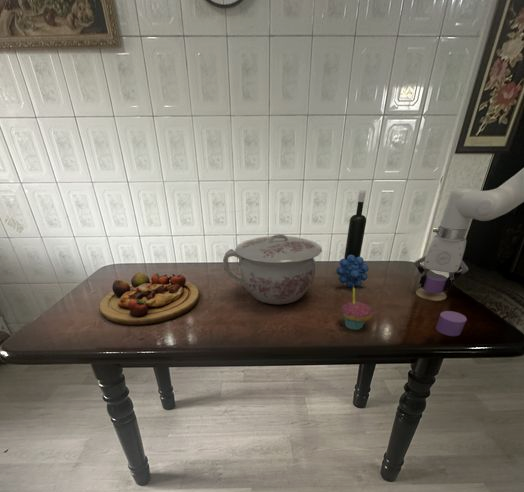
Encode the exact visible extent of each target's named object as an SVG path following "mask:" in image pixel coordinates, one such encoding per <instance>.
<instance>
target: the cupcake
mask: <svg viewBox="0 0 524 492" xmlns="http://www.w3.org/2000/svg"><path fill="white" fill-rule="evenodd" d="M340 314H341V316H342V317H343V319H344V325H345V327H346V328H348V329H350V330H354V331H356V330H361V329H362V328H363V327H364V325H365V323H366V322H368V321H370V320H371V319H372V317H373V309H372V307H371V306H370V305H368V304H367V303H365V302H363V301H359V300H358V301H357V300H356V288H355V285H353V286H352V301H349V302H347V303H345V304H343V305H342V306H341V308H340Z"/></svg>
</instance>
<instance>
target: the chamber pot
mask: <svg viewBox="0 0 524 492" xmlns="http://www.w3.org/2000/svg"><path fill="white" fill-rule="evenodd" d="M322 252H323V249H322V246H321V245H320V244H319V243H317V242H316V241H313V240H311V239H307V238H303V237H297V236H291V235H285V234H282V233H281V234H280V233H277V234H274V235H266V236H258V237H254V238H250V239H247V240H244V241H242V242H240V243H238V244H237V245H236V247H235V248H234V249H233V248H230V249H228V250H227V251H226V252H225V253H224V256H223V258H222V267H223V269H224V271H225V272H226V274H228V276H229V277H230V278H232V279H234V280H235V281H237V282H238V283H239V284H241V285H242V286H243V287H244V289H246V290H247V291H248V292H249V294H250V295H251V296H252V297H253V298H254V299H255V300H257V301H258V302H261V303H264V304H268V305H288V304H292V303H295V302H297V301H299V300H301V298H303V297H304V295H305V294H306V293H307V291H308V290H309V288H310V287H311V286H312V284H313V283H314V279H315V275H316V268H317V265H316V260H315V258H316V257H318V256H319V255H320V254H322ZM232 257H235V258H238V265H239V267H240V273H241V276H240V275H237V274H236V273H235V272H234V271H232V270H231V268H230V266H229V258H232Z"/></svg>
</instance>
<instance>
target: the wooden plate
mask: <svg viewBox="0 0 524 492" xmlns="http://www.w3.org/2000/svg"><path fill="white" fill-rule="evenodd" d="M111 287H112V291H111V292H109V293H108V294H106V295H105V296H104V297H103V298H102V300H101V301H100V302H99V305H98V307H99V308H98V309H99V313H100V314H101V316H102V317H103V318H105V319H106V320H108V321H110V322H114V323H116V324H122V325H147V324H148V325H149V324H155V323H160V322H164V321H167V320H171V319H175V318H176V317H179V316H181V315H183V314H185V313H187V312H189V311H190V310H191V309H193V308H194V307H195V306H196V305H197V304H198V302H199V299H200V297H201V295H200V290H199V289H198V287H197V286H196V285H194V284H192V283H191V282H188V281H187V278H186V277H185V276H184V275H182V274H181V273H180V274H179V275H176V274H174V273H172V274H171V276H168V274H164V275H160V274H159V272H157V273H154V274H152V276H151V278H150V277H149V276H148V275H147V274H145V273H143V272H140V271H139V272H137V273H135V274H134V275H133V276H132V278H131V280H130V283H128V282H127V281H126V280H124V279H121V278H117V279H116V280H114V281H113V283H112V285H111Z"/></svg>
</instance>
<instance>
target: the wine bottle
mask: <svg viewBox="0 0 524 492" xmlns="http://www.w3.org/2000/svg"><path fill="white" fill-rule="evenodd" d="M366 191H367V190H365V189H363V190H362V189H361V190H359V192H358V197H357V206H356V212H355V214H353V215H352V216H350V218H349V223H348V229H347V236H346V244H345V251H344V258H343V259H346V260H347V257H348V256H349V255H354V256H355V258H357V257H361V253H362V249H363V248H362V247H363V242H364V236H365V230H366V225H367V217H366V216H365V215H364V214H363V210H364V203H365V200H366V193H367V192H366Z"/></svg>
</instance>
